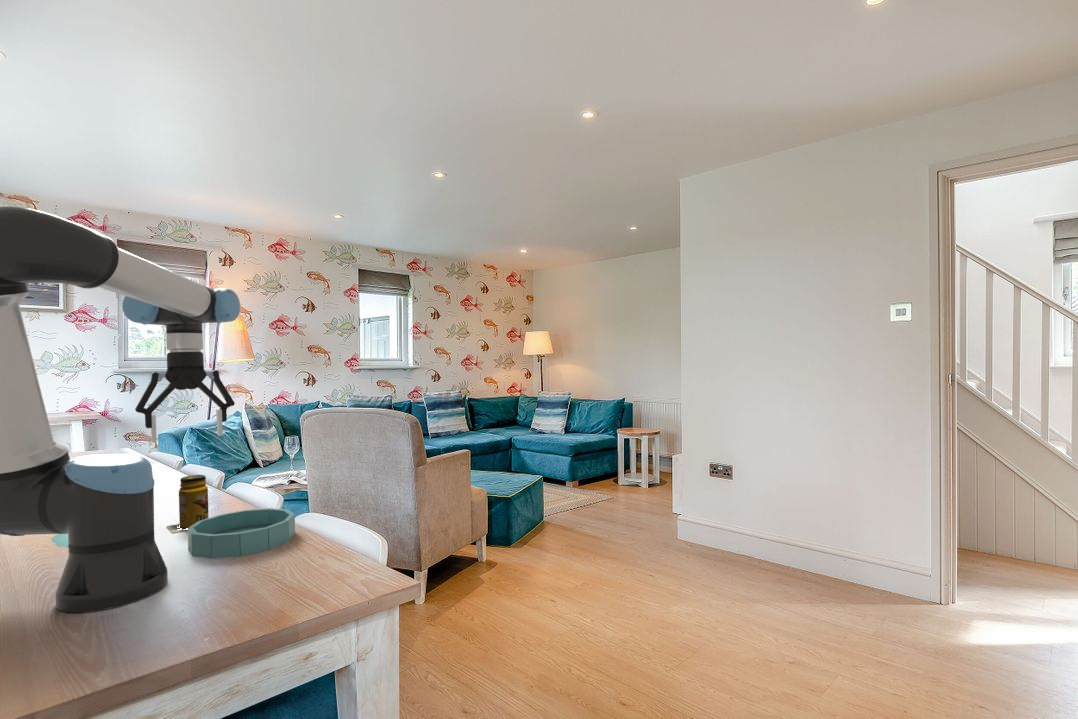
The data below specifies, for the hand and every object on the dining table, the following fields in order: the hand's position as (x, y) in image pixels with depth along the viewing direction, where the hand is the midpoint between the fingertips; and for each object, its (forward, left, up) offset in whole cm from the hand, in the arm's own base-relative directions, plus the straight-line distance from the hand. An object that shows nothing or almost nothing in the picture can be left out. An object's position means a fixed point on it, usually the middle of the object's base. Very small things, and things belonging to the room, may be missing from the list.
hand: (188, 438), depth 134 cm
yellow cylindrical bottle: (0, 0, -22) cm, 22 cm away
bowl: (-23, -7, -21) cm, 32 cm away
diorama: (+10, +20, -22) cm, 31 cm away
